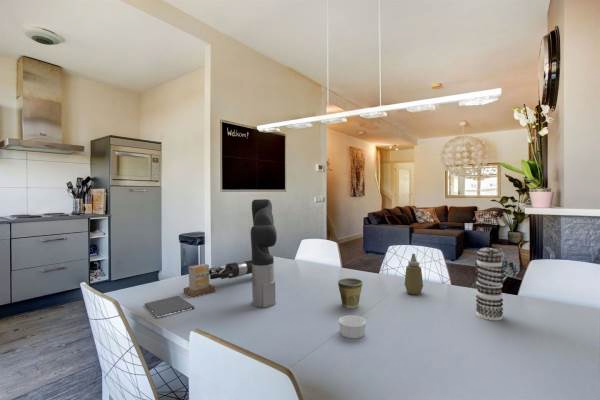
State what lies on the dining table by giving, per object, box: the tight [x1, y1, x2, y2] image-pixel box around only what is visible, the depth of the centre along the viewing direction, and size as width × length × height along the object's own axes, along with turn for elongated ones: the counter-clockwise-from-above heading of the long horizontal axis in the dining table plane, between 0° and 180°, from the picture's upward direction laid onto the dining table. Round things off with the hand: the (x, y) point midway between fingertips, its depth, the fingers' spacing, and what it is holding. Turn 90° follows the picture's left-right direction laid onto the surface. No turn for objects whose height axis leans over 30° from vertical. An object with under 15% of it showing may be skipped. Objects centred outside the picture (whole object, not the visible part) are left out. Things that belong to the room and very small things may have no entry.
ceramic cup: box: [337, 277, 363, 309], centre depth 127 cm, size 13×10×10 cm
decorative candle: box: [474, 247, 505, 321], centre depth 113 cm, size 9×9×25 cm
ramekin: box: [338, 315, 367, 339], centre depth 101 cm, size 9×9×4 cm
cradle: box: [183, 283, 216, 298], centre depth 145 cm, size 9×12×2 cm
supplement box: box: [188, 263, 210, 291], centre depth 145 cm, size 8×5×13 cm, turn 143°
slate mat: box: [144, 295, 195, 316], centre depth 127 cm, size 18×14×1 cm
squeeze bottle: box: [404, 253, 424, 295], centre depth 140 cm, size 8×8×18 cm
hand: (206, 275), depth 147 cm, fingers open, 8 cm apart
